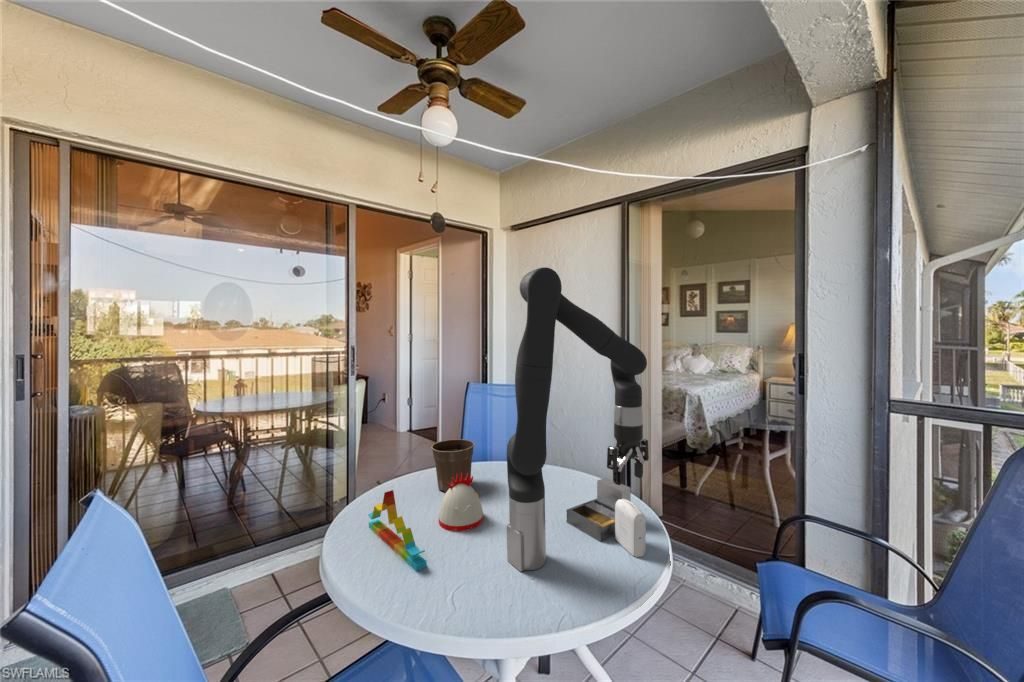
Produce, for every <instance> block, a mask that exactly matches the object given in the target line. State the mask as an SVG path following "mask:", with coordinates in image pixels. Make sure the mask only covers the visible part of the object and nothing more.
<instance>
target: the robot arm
mask: <svg viewBox="0 0 1024 682" xmlns="http://www.w3.org/2000/svg"><path fill="white" fill-rule="evenodd" d="M562 285H563V284H562V280H561V277H560V276H559V274H558V273H557V271H555V270H554V269H553V268H550V267H546V266H545V267H539V268H535V269H533V270H532V271H530V272H528V273H526V274H525V275H524V276H523V277H522V278H521V279H520V283H519V293H520V295H521V298H522V299H523V300H524V301H525V302H526V304H527V305H526V307H527V309H526V310H527V311H526V323H525V328H524V331H523V334H522V338H521V341H520V343H519V344H520V345H519V347H518V351H517V356H516V361H515V372H514V373H515V374H514V390H515V403H516V413H517V416H516V418H517V419H516V427H515V428H516V429H515V433H514V434H513V435H512V436H511V437H510V438H509V440H508V441H507V442H508V443H507V444H506V445H507V446H506V466H507V468H506V469H507V470H506V471H507V484H508V495H509V497H508V499H509V500H508V501H509V503H508V505H509V524H507V525H506V553H507V554H506V556H507V557H506V559H507V560H506V561H507V562H508V563H510V564H511V566H513V567H514V568H516V569H517V570H518V571H519V572H523V571H534V570H538V569H540V568H542V567H543V566H544V565H545V564H546V561H547V552H546V551H547V546H546V543H547V541H546V488H545V486H546V485H545V481H544V477H543V467H544V466H545V465H546V460H547V456H548V455H547V454H548V452H547V418H548V409H549V402H550V396H551V385H552V379H553V366H554V351H555V349H554V348H555V338H556V337H555V336H556V335H555V331H556V322H559V323H560V324H562V325H563V326H564V327H565V328H567V329H568V330H569V331H570V332H572V333H573V334H574V335H575V336H577V337H578V338H579V339H580V340H581V341H583V342H584V344H586V345H587V346H589V348H591V349H592V350H593V351H595V352H596V353H597V354H599V355H601V356H603V357H606V358H608V359H609V360H610V371H611V376H612V383H613V386H614V410H613V436H614V439H615V441H616V444H615V446H611V445H609V446H607V452H606V453H607V455H606V459H607V460H606V468H607V469H609V470H612V480H613V482H614V483H615V484H617V485H621V484H623V478H622V477H623V472H622V470H623V468H624V465H627V462H628V461H630V460H634V468H633V469H634V472H633V474H634V476H635V478H638V479H641V478H643V476H644V475H643V474H644V464H645V463H646V461H649V459H650V457H649V440H648V439H645V438H644V423H643V422H644V419H643V418H644V411H643V406H642V405H643V392H642V387H641V385H640V384H639V383H638V382H637V381H636V376H638V375H640V374H641V375H642V373H644V372H645V370H646V369H647V366H648V361H647V360H648V359H647V357H646V355H645V354H644V352H643V351H642V350H641V349H639V347H637V346H635V345H634V344H633V343H631V342H629V341H628V340H626V339H625V338H623V337H621V336H619V335H618V334H616V332H615V331H614V330H612V329H611V328H610V327H609V326H608V325H606V323H604V322H603V321H601V319H599V318H597V316H595V315H593V314H591V313H590V312H588V311H586V310H584V309H583V308H581V307H579V306H578V305H576V304H575V303H573V302H572V301H570V300H569V299H568V298H567V297H566V296H564V294H562V290H563V289H562V288H563V287H562Z"/></svg>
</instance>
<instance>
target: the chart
mask: <svg viewBox="0 0 1024 682" xmlns="http://www.w3.org/2000/svg"><path fill="white" fill-rule="evenodd" d="M396 505H397V503H396V498H395V492H394V490H393V489H391V490H389V491H385V492H384V494H383V500H382V503H379V504H375V505H374V506H373V511H372V512H371V513H368V514H367V515H368V517H369V518H370V519H371V520H369V521H368V528H369V529H370V530H372V532H374V534H375V535H377V537H379V538H380V539H381V540H382V541H383V542H384V543H385V544H386V545H387V546H388V547H390V548H391V550H393V551H394V552H395V553H396V554H397V555H398V556H399V557H400V558H401V559H402V560H403V561H404V562H405V563H406V564H408V565H409V566H410V567H411V568H412V569H413V570H414V571H415V572H417V571H420V570H422V569H424V568H426V567H427V560H426V559H425V558H424V556H422V555H421V554H422V553H424V552H425V551H426V550H425V549H423V550H420V548H418V547H417V545H416V542H415V539H414V534H413V531H412V528H411V527H406V525H405V521H404V518H403V516H402V515H401V516H398V512H397V506H396ZM383 511H386V512H387V513H386V514H387V518H388V519H387V520H388V525H392V524H393V525H394V529H395V531H396V533H395V532H394V531H393V530H391V528H389V526H387V525H386V524H385V523H384V522H382V521H381V519H379V518H380V517H381V515H382V512H383ZM399 534H401V535H402V538H401V537H400V536H398V535H399Z"/></svg>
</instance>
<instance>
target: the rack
mask: <svg viewBox="0 0 1024 682" xmlns="http://www.w3.org/2000/svg"><path fill="white" fill-rule="evenodd" d="M596 490H597V492H596V494H597V495H596V496H597V497H596V498H595V499H591V500H589V501H586V502H584V503H581V504H580V503H579V505H576V506H573V507H570V508H567V509H566V523H567V524H569V525H570V526H573V527H574V528H576V529H577V530H579V531H581V532H583V533H584V534H586V535H588V536H590V537H591V538H593V539H595V540H596V541H598V542H600V543H602V542H604V541H606V540H608V539H611V538H613V537H615V504H616V502H617V501H618V500H619V499H620V500H621V499H626V500H628V501H630V502H632V501H631V497H632V496H631V493H632V492H631V490H632V489H631V487H630V486H628V485H625V484H623V483H622V484H621V485H617V484H615V483H614V482H613V479H610V478H608V477H604V478H601V479H597V480H596Z"/></svg>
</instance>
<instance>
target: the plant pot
mask: <svg viewBox="0 0 1024 682" xmlns="http://www.w3.org/2000/svg"><path fill="white" fill-rule="evenodd" d="M474 447H475V443H474V441H472V440H470V439H462V438H458V439H457V438H455V439H446V440H440V441H436V442H435V443H433V444H432V445H431V450H432V454H433V455H432V456H433V459H434V463H435V472H436V480H437V489H438V490H439V491H441V492H442V491H443V492H444V493H446V492H447V491H448V490H449V489H450V487H449V485H448V483H449V484H450V485H453V481H452V478H453V479H454V480H455V481H456V476H457V474H458V476H459V480H461V474H463V477H464V479H466V476H467V473H468V474H469V479H471V477H472V460H473V455H474ZM447 482H448V483H447Z"/></svg>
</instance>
